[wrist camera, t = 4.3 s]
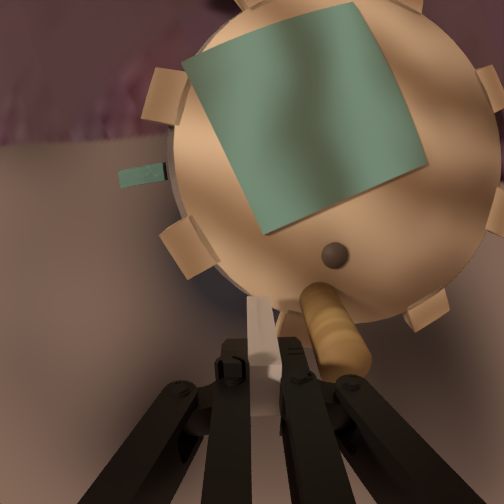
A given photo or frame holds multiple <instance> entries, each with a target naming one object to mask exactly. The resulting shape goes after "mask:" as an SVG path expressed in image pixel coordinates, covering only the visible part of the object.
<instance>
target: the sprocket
mask: <svg viewBox="0 0 504 504" xmlns="http://www.w3.org/2000/svg"><path fill="white" fill-rule="evenodd" d="M234 1H235V2H236V3H237V5H238V6H239V7H240V9H241V10H242V11H243V12H242V13H241V14H239V15H238V16H236V17H235V18H234V19H232V20H231V21H230V22H229V23H228V24H227V25H226V26H225V27H224V28H222V29H221V30H220V31H219V32H218V33H217V34H216V35H215V36H214V38H213V39H212V40H211V41H210V43H209V44H208V45H207V46H206V48H205V49H204V50H203V52H202V53H199V54H197V55H195V56H193V57H191V58H189V59H187V60H185V61H183V62H181V64H182V66H183V68H184V70H185V72H184V71H177V70H171V69H164V68H157V67H156V68H155V71H154V74H153V78H152V81H151V84H150V87H149V91H148V94H147V98H146V101H145V105H144V108H143V112H142V116H141V119H144V120H147V121H150V122H155V123H160V124H166V125H171V126H175V129H174V145H173V149H174V162H175V173H176V177H177V182H178V187H179V191H180V196H181V199H182V201H183V204H184V207H185V210H186V212H187V215H188V216H186V217H184V218H183V219H182V220H179V221H178V222H176V223H175V224H173V225H171V226H170V227H168V228H167V229H166V230H164V231H163V232H162V233H161V234H160V235H159V236H160V238H161V239H162V241H163V242H164V244H165V246H166V247H167V249H168V250H169V252H170V254H171V255H172V257H173V258H174V260H175V261H176V263H177V265H178V266H179V268H180V269H181V271H182V272H183V274H184V275H185V277H186V278H187V279H190V278H192V277H194V276H195V275H197V274H199V273H201V272H203V271H204V270H206V269H208V268H210V267H212V266H214V265H215V264H218V265H219V266H220V267H221V268H222V269H223V270H224V271H225V272H226V273H227V275H228V276H229V277H230V278H231V279H232V280H234V281H235V282H236V283H237V284H239V285H240V286H241V287H242V288H243V289H245V290H246V291H247V292H248V293H250V294H251V295H253V296H270V301H271V307H274V308H276V309H278V310H280V311H281V312H280V314H279V318H278V320H277V323H276V326H275V328H276V334H277V337H293V336H295V337H296V338H298V339H299V340H300V341H301V343H302V346H303V347H307V348H312V349H313V352H314V355H315V359H316V362H317V366H318V369H319V373H320V376H321V378H322V380H323V381H325V382H331V383H336V380H337V379H338V378H339V377H341V376H343V375H348V374H353V375H358V376H361V377H364V376H365V375H366V374H367V373H368V371H369V370H370V367H371V364H372V356H371V353H370V351H369V350H368V348H367V346H366V344H365V343H364V341H363V339H362V337H361V335H360V333H359V331H358V330H357V328H356V326H355V324H357V323H367V322H374V321H378V320H382V319H386V318H390V317H393V316H396V315H398V314H401V313H402V314H403V317H404V319H405V321H406V322H407V323H408V325H409V326H410V327H411V328H412V329H413V331H414V332H417V331H419V330H420V329H422V328H424V327H425V326H427V325H428V324H430V323H432V322H433V321H435V320H436V319H438V318H439V317H441V316H442V315H444V314H445V313H447V312H448V311H450V307H449V303H448V300H447V296H446V292H445V288H444V287H446V286H447V285H448V284H449V283H450V282H451V281H452V280H453V279H454V278H455V277H456V276H457V275H458V274H459V273H460V272H461V270H462V269H463V268H464V267H465V266H466V264H467V263H468V262H469V261H470V259H471V258H472V256H473V254H474V253H475V252H476V250H477V248H478V247H479V245H480V243H481V241H482V239H483V237H484V235H485V233H486V231H489V232H491V233H493V234H496V235H498V236H501V237H503V238H504V190H502V189H500V188H499V186H500V177H501V147H500V138H499V131H498V126H497V122H496V118H495V114H494V113H495V112H497V111H499V110H501V109H503V108H504V90H503V87H502V85H501V83H500V80H499V78H498V76H497V74H496V72H495V69H494V67H493V65H489V66H486V67H482V68H479V69H476V70H475V69H474V67H473V66H472V64H471V63H470V61H469V60H468V58H467V57H466V55H465V54H464V53H463V52H462V51H461V49H460V48H459V47H458V46H457V45H456V43H455V42H454V41H453V40H452V39H451V38H450V37H449V36H448V35H447V34H446V33H445V32H444V31H443V30H442V29H440V28H439V27H438V26H437V25H436V24H435V23H433V22H432V21H431V20H429V19H428V18H426V17H425V16H424V15H422V14H421V13H422V6H423V0H234Z"/></svg>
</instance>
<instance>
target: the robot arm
mask: <svg viewBox="0 0 504 504" xmlns="http://www.w3.org/2000/svg"><path fill="white" fill-rule="evenodd" d="M247 328H248V329H247V330H248V339H226V340H225V342H224V343H223V344H222V348H221V357H219V358H218V359H217V360H216V361H215V364H214V365H215V376H216V381H215V382H213V383H212V384H210V385H208V386H204V387H199V388H196V386H195V385H194V384H193V383H191V382H188V381H181V380H180V381H174V382H172V383H170V384H168V385H167V386H166V387H164V389H163V390H162V391H161V393H160V394H159V396H158V397H157V398H156V400H155V401H154V402H153V404H152V405H151V406H150V408H149V409H148V410H147V412H146V413H145V414H144V416H143V417H142V419H141V420H140V421H139V422H138V424H137V425H136V426H135V428H134V429H133V431H132V432H131V433H130V435H129V436H128V437H127V439H126V440H125V441H124V443H123V444H122V445H121V447H120V448H119V449H118V451H117V452H116V453H115V455H114V456H113V457H112V459H111V460H110V461H109V463H108V464H107V465H106V466H105V468H104V469H103V470H102V472H101V473H100V474H99V476H98V477H97V479H96V480H95V481H94V483H93V484H92V485H91V486H90V488H89V489H88V490H87V492H86V493H85V494H84V496H83V497H82V498H81V500H80V501H79V502H78V503H77V504H170V503H171V501H172V499H173V497H174V495H175V493H176V491H177V490H178V488H179V486H180V483H181V482H182V480H183V478H184V476H185V474H186V472H187V470H188V468H189V466H190V464H191V462H192V460H193V458H194V456H195V454H196V452H197V450H198V448H199V446H200V444H201V442H202V440H203V437H204V435H208V434H209V438H208V446H207V455H206V463H205V472H204V480H203V489H202V498H201V504H252V487H251V486H252V483H251V425H250V416H276V415H279V414H280V415H281V422H280V436H282V439H283V446H284V453H285V460H286V467H287V474H288V482H289V489H290V495H291V502H292V504H356V502H355V499H354V496H353V493H352V489H351V486H350V482H349V479H348V476H347V473H346V469H345V466H344V463H343V459H342V457H341V453H342V454H343V456H344V457H345V458H346V460H347V462H348V463H349V464H350V466H351V467H352V469H353V470H354V472H355V473H356V474H357V476H358V477H359V479H360V480H361V482H362V483H363V484H364V486H365V487H366V489H367V490H368V491H369V493H370V494H371V496H372V497H373V498H374V500H375V501H376V503H377V504H486V503H485V502H484V501H483V500H482V499H481V498H480V497H479V496H478V495H477V494H476V493H475V492H474V491H473V489H471V487H470V486H468V485H467V483H465V481H464V480H463V479H462V478H461V477H460V476H459V475H458V474H457V473H456V472H455V471H454V470H453V469H452V468H451V467H450V466H449V465H448V464H447V463H446V462H445V461H444V460H443V459H442V458H441V457H440V456H439V455H438V454H437V453H436V452H435V451H434V450H433V449H432V448H431V447H430V445H429V444H428V443H427V442H426V441H424V439H423V438H422V437H421V436H420V435H419V434H418V433H417V432H416V431H415V430H414V429H413V428H412V427H411V426H410V425H409V424H408V423H407V422H406V421H405V420H404V419H403V418H402V417H401V416H400V415H399V414H398V413H397V412H396V410H395V409H394V408H393V407H392V406H391V405H390V404H389V403H388V402H387V401H386V400H385V399H384V398H383V397H382V396H381V395H380V394H379V393H378V392H377V391H376V390H375V389H374V388H373V387H372V386H371V385H370V384H369V382H368V381H367V380H366V379H364V378H363V377H361V376H358V375H353V374H348V375H343V376H341V377H339V378H338V379H337V380H336V383H331V382H325V381H321V380H318V379H317V378H316V376H315V374H314V373H313V372H311V371H310V370H309V367H308V363H307V360H306V357H305V354H304V350H303V346H302V343H301V341H300V340H299V339H298V338H296V337H295V336H293V337H277V334H276V329H275V323H274V318H273V312H272V307H271V301H270V296H248V297H247ZM340 451H341V453H340Z"/></svg>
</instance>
